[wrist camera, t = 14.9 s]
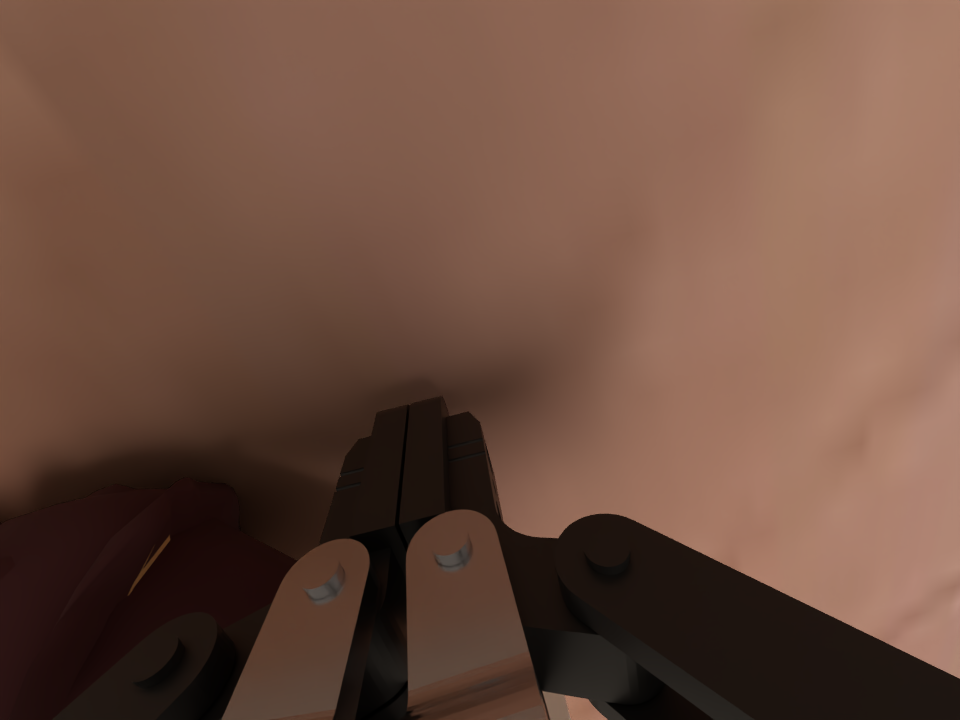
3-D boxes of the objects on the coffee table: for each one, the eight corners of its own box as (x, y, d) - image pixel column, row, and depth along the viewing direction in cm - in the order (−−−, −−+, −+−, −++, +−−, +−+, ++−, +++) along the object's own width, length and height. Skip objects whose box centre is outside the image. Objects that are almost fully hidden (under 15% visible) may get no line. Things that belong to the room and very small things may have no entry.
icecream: (535, 667, 6) (-833, 565, 4) (462, 1058, 7) (-631, 1054, 6) (492, 458, 12) (-54, 397, 11) (460, 672, 14) (-37, 635, 13)
